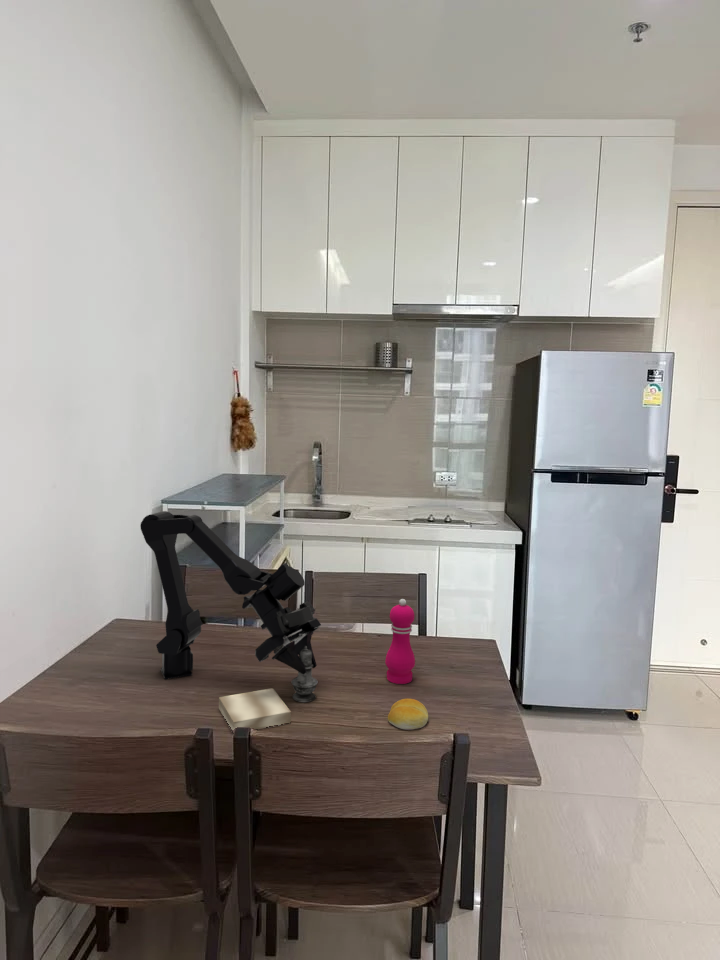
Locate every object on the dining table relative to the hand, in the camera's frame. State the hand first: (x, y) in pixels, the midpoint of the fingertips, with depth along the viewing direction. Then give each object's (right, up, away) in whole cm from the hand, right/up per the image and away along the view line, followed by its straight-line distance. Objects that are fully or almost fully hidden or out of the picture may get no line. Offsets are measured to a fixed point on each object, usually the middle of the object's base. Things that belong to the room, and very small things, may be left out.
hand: (310, 670), depth 144 cm
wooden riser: (-11, -7, -8) cm, 16 cm away
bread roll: (+21, -9, -7) cm, 24 cm away
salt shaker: (-1, -7, +1) cm, 7 cm away
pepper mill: (+21, -6, +13) cm, 25 cm away
